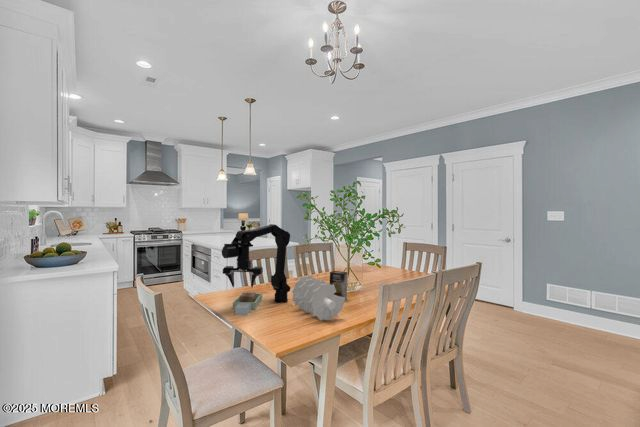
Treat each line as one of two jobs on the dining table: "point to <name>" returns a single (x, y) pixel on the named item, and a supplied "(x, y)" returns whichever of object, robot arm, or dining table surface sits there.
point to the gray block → (243, 309)
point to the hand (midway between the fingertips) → (242, 287)
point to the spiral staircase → (317, 298)
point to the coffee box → (339, 283)
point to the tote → (253, 304)
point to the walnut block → (247, 297)
